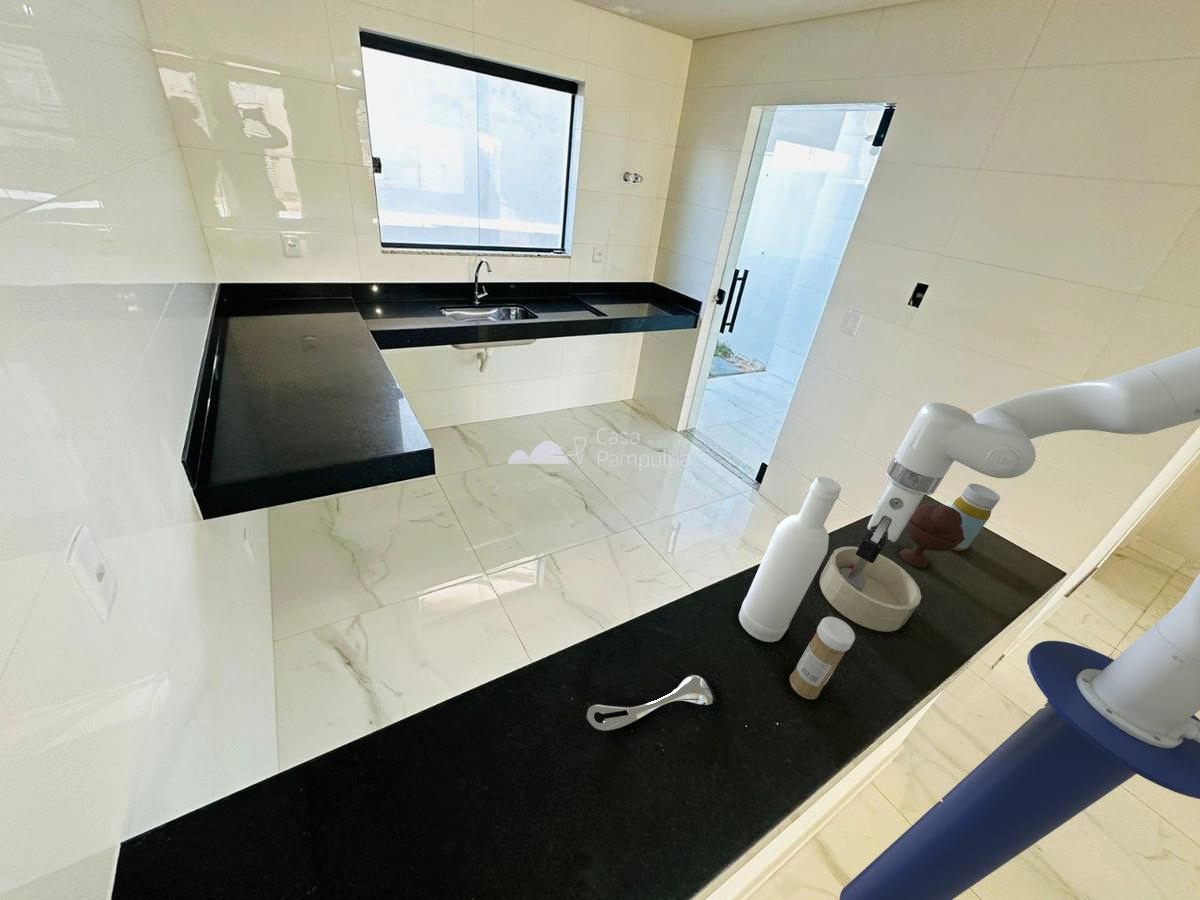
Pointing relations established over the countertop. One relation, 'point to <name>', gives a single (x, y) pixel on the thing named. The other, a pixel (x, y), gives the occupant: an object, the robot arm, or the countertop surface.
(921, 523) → the ice cream bowl
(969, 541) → the bottle
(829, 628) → the sprinkles bottle
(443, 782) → the countertop surface
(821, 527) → the bottle
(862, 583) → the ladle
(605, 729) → the ice cream scoop
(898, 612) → the mixing bowl
